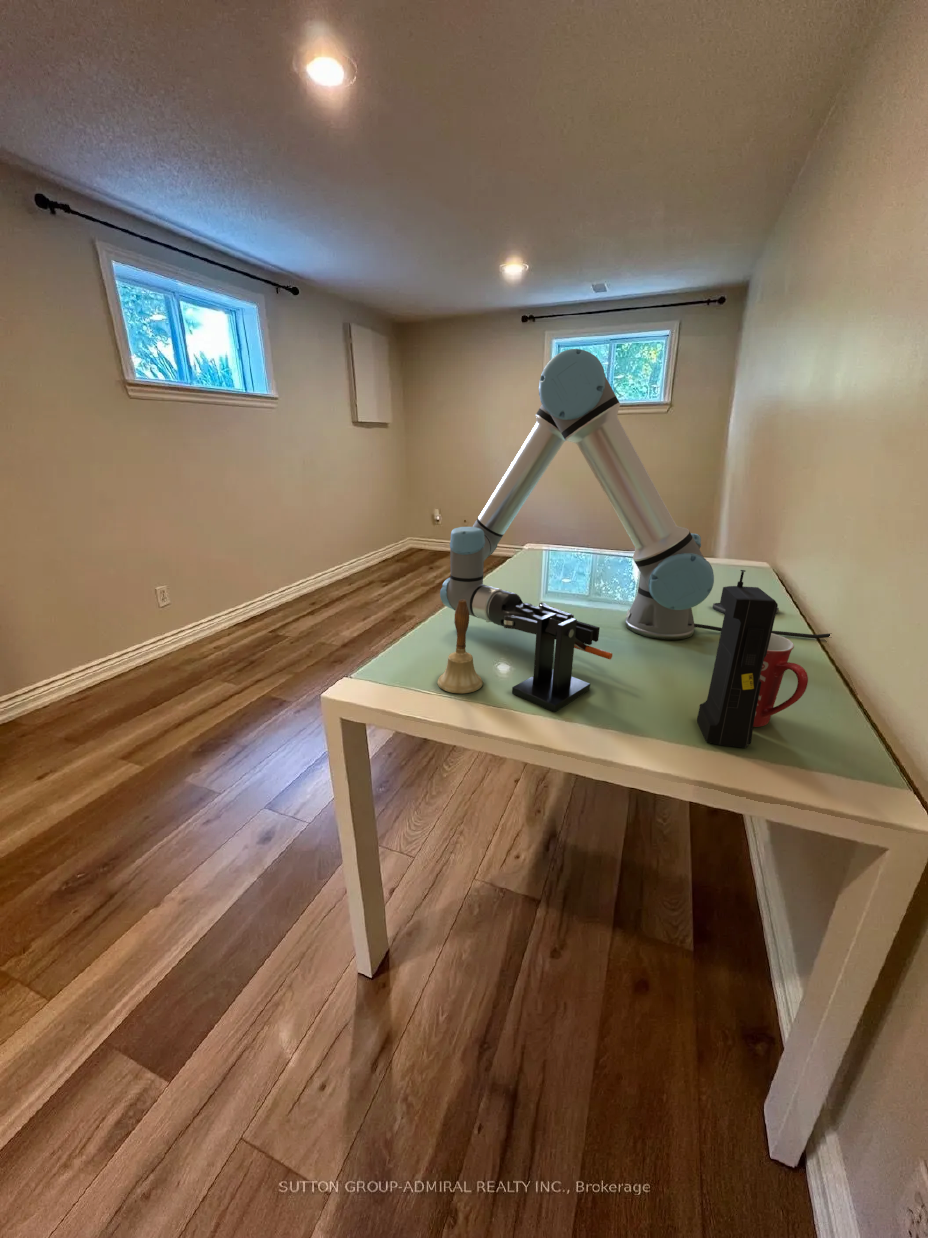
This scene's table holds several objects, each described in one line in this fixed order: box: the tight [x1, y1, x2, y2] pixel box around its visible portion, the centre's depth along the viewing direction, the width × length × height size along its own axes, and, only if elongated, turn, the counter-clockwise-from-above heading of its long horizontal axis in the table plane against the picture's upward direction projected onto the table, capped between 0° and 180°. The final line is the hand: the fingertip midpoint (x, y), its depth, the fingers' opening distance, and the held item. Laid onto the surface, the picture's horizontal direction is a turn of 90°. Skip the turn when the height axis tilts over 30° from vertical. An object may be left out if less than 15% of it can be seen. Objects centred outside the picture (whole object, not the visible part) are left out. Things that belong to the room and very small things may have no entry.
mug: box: [753, 633, 809, 728], centre depth 76 cm, size 13×9×14 cm
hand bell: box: [436, 599, 484, 694], centre depth 87 cm, size 8×8×16 cm
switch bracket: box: [511, 613, 591, 713], centre depth 85 cm, size 11×9×14 cm
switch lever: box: [545, 618, 613, 660], centre depth 87 cm, size 14×11×2 cm
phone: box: [712, 602, 780, 615], centre depth 130 cm, size 8×1×15 cm
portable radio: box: [696, 569, 779, 749], centre depth 70 cm, size 8×6×25 cm
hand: (594, 636), depth 91 cm, fingers closed
